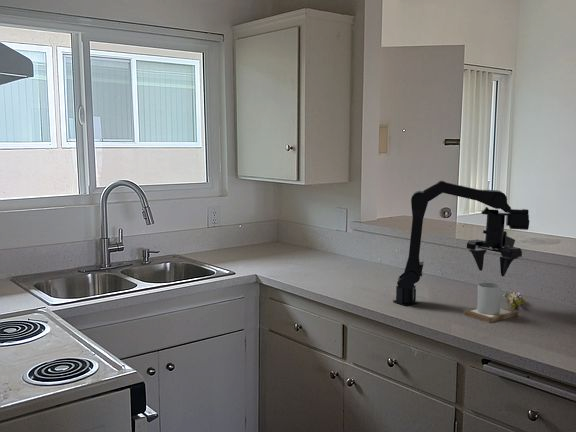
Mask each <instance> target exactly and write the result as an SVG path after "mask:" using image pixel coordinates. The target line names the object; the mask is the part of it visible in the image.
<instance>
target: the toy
mask: <svg viewBox="0 0 576 432" xmlns="http://www.w3.org/2000/svg"><path fill="white" fill-rule="evenodd" d="M509 292H510V295H509V294H508V292H506V293H504V294H503V295H502V297H503V298H504V299H505V300H506V301H507V302H508V303H509V305H510V308H511V309H513V310H515V309H516V307H517V306H518V307H520V306H521V305H522V304H524V303H525V299H524V298H523V296H522V293H521V292H516V291H512V290H510V291H509ZM508 297H509V298H508Z"/></svg>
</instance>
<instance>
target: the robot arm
mask: <svg viewBox="0 0 576 432" xmlns="http://www.w3.org/2000/svg"><path fill="white" fill-rule="evenodd" d="M441 194H448V195H452V196H454V197H455V196H456V197H460V198H464V199H467V200H473V201H476V202H479V203H481V204H484V205H486V207H485V208H484V209H483V210H481V212H480V213H481V214H482V215H486V224H485V225H486V226H485V229H484V230H483V232H482V234H484V235H485V237H484V238H485V239H484V240H482V239H470V240H468V241H467V242H466V249H469V251H468V252H470V253H471V254H472V256H473V259H474V261H475V264H476V266H477V269H478V271H483V267H484V260H485V254H486V252H487V251H491V252H497V253H500V256H499V264H500V266H499V268H500V269H499V270H500V276H501V277H505V276H506V274H507V271H508V269H509V267H510V266H511V264H512V262H513V261H515V260H516V259H518V258H521V257H522V256H523V250H522V248H521V247H516V246H515V243H516V239H514V238H512V237H510V236H508V235H507V234H508V233H507V231H505V225H506V226H507V227H509V228H508V229H510V230H524V231H527V230H529V228H530V214H529V209H525V208H522V209H516V208H515V209H513V208H512V207H511V206H510V205H509V204H508V198H507V196H506V194H505V193H504V192H502V191H501V190H497V189H496V190H495V189H494V190H493V189H479V188H478V189H477V188H475V187H473V188H472V187H469V186H465V185H461V184H460V185H459V184H455V183H452V182H448V181H447V182H446V181H444V180H439V181H437V182H436V183H435V184H433V185H431V186H430V187H428V188H426V189H424V190H418V191H415V192H413V194H412V196H411V199H410V204H411V216H412V221H411V231H410V239H409V242H410V243H409V251H408V258H407V260H406V264H405V267H404V270H403V271H404V272H403V273H402V274H401V275H399V276H398V278H397V282H396V283H397V285H396V288H395V289H396V290H395V293H396V294H395V296H396V297H395V299H394V300H393V299H392V302H393V303H396V304H398V305H401V306H405V307H406V306H411V305H417V304H419V301H417V300H416V297H417V289H416V285H415V284H417V283H418V282H419V281H420V279H421V278H423V274H424V273H423V268H424V261H421V260H420V251H421V241H422V232H423V223H424V218H425V214H426V211H427V207H428V204H429V202H430V201H432V200H434V199H435V198H437V197H438V196H439V195H441ZM489 207H490V208H492V209H490V208H489ZM493 208H494V209H493ZM499 209H500V210H502V211H503V212H499Z"/></svg>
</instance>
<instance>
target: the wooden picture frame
mask: <svg viewBox="0 0 576 432" xmlns="http://www.w3.org/2000/svg"><path fill="white" fill-rule="evenodd" d="M518 313H519V312H518V311H517V310H516V311H515V310H511V309H508V308H505V307H501V306H500V313H499V314H496V315H487V314H482V313H479V312H478V311H477V307H476V308H472V309H467V310H464V313H463V314H464V315H465V316H468V317H471V318H474V319H478V320H479V321H483V322H486V323H493V322H497V321H501V320H506V319H509V318H514V317H517V316H519V314H518Z"/></svg>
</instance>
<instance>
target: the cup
mask: <svg viewBox="0 0 576 432" xmlns="http://www.w3.org/2000/svg"><path fill="white" fill-rule="evenodd" d="M501 300H502V285H501V284H498V283H494V282H479V283H478V284H477V299H476V308H477V311H478V312H479V313H482V314H487V315H496V314H499V313H500V307H501V306H502V305H501Z"/></svg>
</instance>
